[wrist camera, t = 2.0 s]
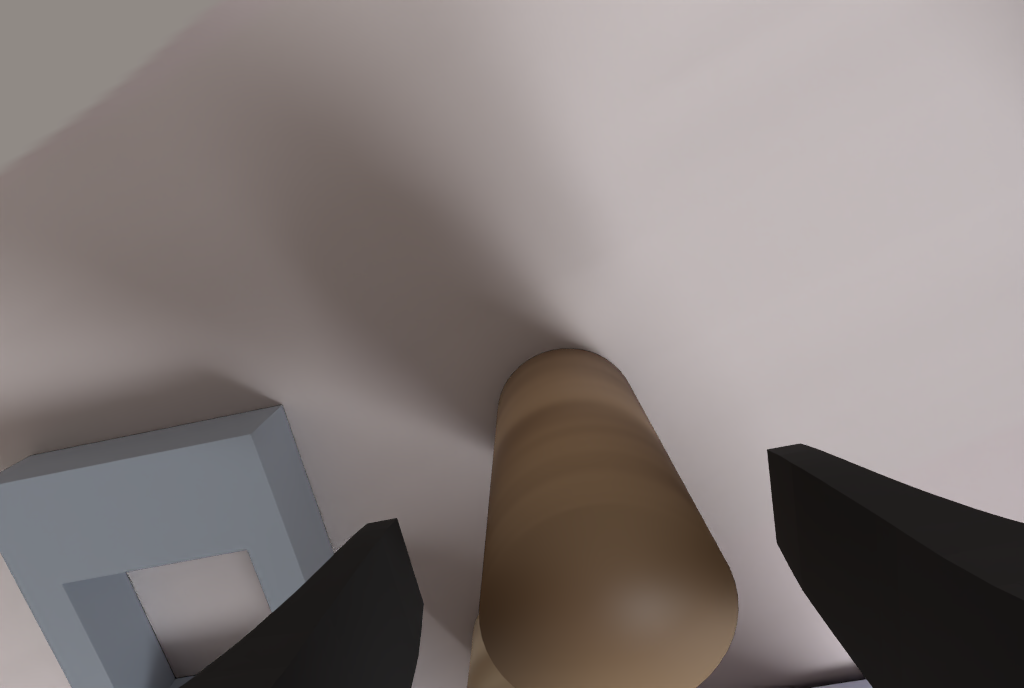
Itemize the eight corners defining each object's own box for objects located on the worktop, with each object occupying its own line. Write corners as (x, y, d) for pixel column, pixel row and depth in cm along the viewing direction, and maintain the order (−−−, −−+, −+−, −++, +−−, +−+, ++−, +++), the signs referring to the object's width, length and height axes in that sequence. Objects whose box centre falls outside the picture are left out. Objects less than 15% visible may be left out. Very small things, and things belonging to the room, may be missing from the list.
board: (392, 722, 20) (378, 780, 18) (175, 756, 20) (139, 816, 18) (282, 405, 17) (250, 434, 15) (29, 455, 17) (-33, 490, 15)
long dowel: (645, 463, 17) (750, 698, 9) (513, 487, 17) (508, 735, 10) (623, 335, 16) (722, 480, 8) (483, 364, 16) (451, 529, 8)
